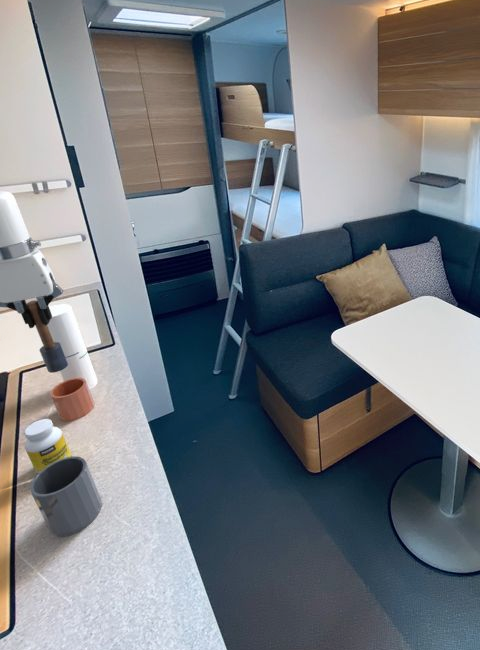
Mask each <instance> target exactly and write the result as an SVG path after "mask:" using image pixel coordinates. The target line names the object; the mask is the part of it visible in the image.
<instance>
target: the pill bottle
mask: <svg viewBox="0 0 480 650" xmlns="http://www.w3.org/2000/svg"><path fill="white" fill-rule="evenodd" d="M24 435H25V437H26V438H25V439H26V440H25V443H24V449H25V451H26V453H27V456H28V458H29V460H30V463H31V464H32V467H33V469H34V471H35V473H36V475H37V474H38V473H40V472H41V471H42V470H43V469H44V468H45V467H47V466H49V465H50V464H52V463H54V462H56V461H58V460H60V459H63V458H67V457H71V456H72V453H71V450H70V448H69V446H68V443H67V441H66V438H65V436H64V433H63V431H62V430H61V428H60V427H57V426H54V423H53V421H52V419H49V418H43V419H39V420H36V421H35V422H32V423H31V424H30V425H28V426H27V427H26V428H25V430H24Z"/></svg>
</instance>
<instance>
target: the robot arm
mask: <svg viewBox="0 0 480 650" xmlns="http://www.w3.org/2000/svg"><path fill="white" fill-rule="evenodd" d="M39 247H42V242H41V241H40V240H39V239H38V240H35V239H32V237H31V236H30V233H29V231H28V229H27V226H26V223H25V220H24V218H23V215H22V213H21V210H20V208H19V205H18V202H17V200H16V198H15V196H14V194H12V193H11V192H9V191H7V190H0V308H5V309H7V308H8V309H10V310H13V311H15V312H17V314H20V315H21V317H22V319H23V321H24V324H25V325H28V328H29V329H33V328H35V327H36V326H35V324H34V321H33V319H32V316H31V314H30V311H29V309H28V306H27V303H28V302H27V300H30V299H36V301H38V304H39V308H40V309H39V314H40V317H41V319H42V322H43V324H44V325H48V324H49V321H50V319H52V314H51V312H50V309H49V307H50V306H49V305H50V304H51V302H52V301H53V300H54V299H56V298H58V297H60V296H62V295H63V292H64V289H63V288H62V287H60V285H59V284H57V280H56V278H55V275H54V273H53V270H52V268H51V266H50V265H49V263H48V261H47V260H46V259H47V258H46V257H45V256H44V254H43V252H42V251H41V250H40V249H39ZM37 248H38V249H37Z"/></svg>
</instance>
